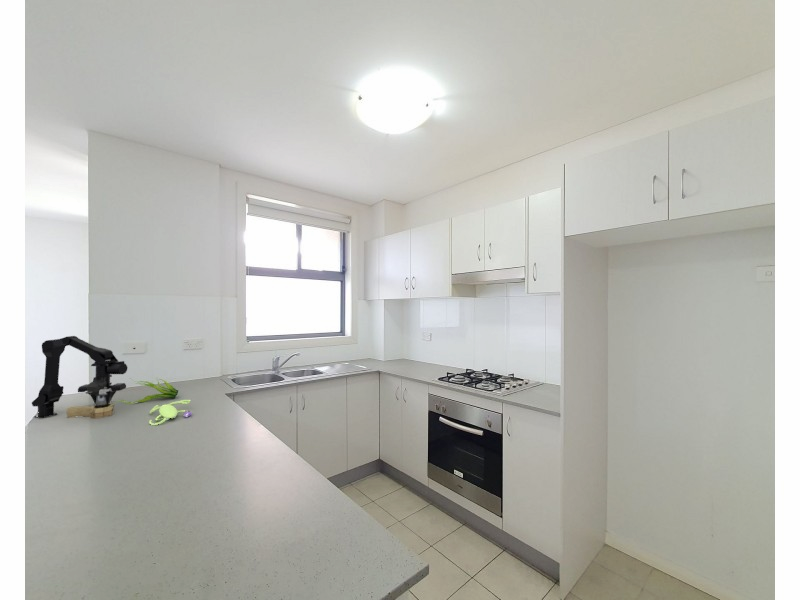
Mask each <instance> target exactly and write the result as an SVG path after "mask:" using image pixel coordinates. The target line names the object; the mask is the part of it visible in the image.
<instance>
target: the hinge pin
mask: <svg viewBox="0 0 800 600" xmlns="http://www.w3.org/2000/svg"><path fill="white" fill-rule="evenodd" d="M106 406H109V404H107V393H102V394H98V395H96V408H101V407H106Z"/></svg>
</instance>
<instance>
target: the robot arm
mask: <svg viewBox="0 0 800 600" xmlns="http://www.w3.org/2000/svg"><path fill="white" fill-rule="evenodd" d="M68 346H69V347H72V348H75V349H76V350H78V351H80V352H83V353H85V354H87V355H88V356H89V358H90V359H91V360H93V361H94V362H93V363H92V364H91V365H90V366H91V367H95V376H94V377H93V378H92V379H93V380H92V381H91V382H90V383H88V384H83V385H81V386H78V388H77V392H78V393H85V394H87V395H89V396H90V397H91V399H92V401H93V402H94V403H95V404H96V395H98V394H99V391H100V389H109V391H107V392H106V393H107V404H109V403H110V401H111V399H112V400H113V397H114V396H115V394H116V393H117V392H118V391H119V392H120V391H123V390H124V389H127V384H126V383H125V382H124V383H123V382H120V383H119V382H118V383H114V384H112V382H111V378H112V377H113V376H112V375H125V374H126V373H127V371H128V365H127V364H126V363H125V361H124V360H122V361H119V359H117V357H116V355H114V352H113V351H112V350H111V349H108V348H103V347H98V346H95V345H93V344H91V343H90V342H87V341H85V340H83V339H80V338H79V337H77V336H75V335H69V336H64V337H62V338H57V339H47V340H44V341H43V342H42V343H41V350H42V351H41V352H42V354H43V355H44V356H45V367H44V368H45V370H44V371H45V372H44V380H43V381H44V383H43V385H42V386H41V388H40V389H39V391H38V395H37V397H36V398H35V399H34V400H33V401H32V402H31V405H32V407H37V415H38V417H39V418H38V417H36V418H38V419H44V418H47V417H52V416H56V415H58V413H57V412H55V403H58V402H59V401H60V399H61V398H62V395H63V394H64V386H62V385H60V383H59V374H60V361H61V360H60V359H61V356H62V354H63V353H64V351H65V349H66V347H68ZM105 387H106V388H105ZM38 412H39V413H38Z"/></svg>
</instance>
